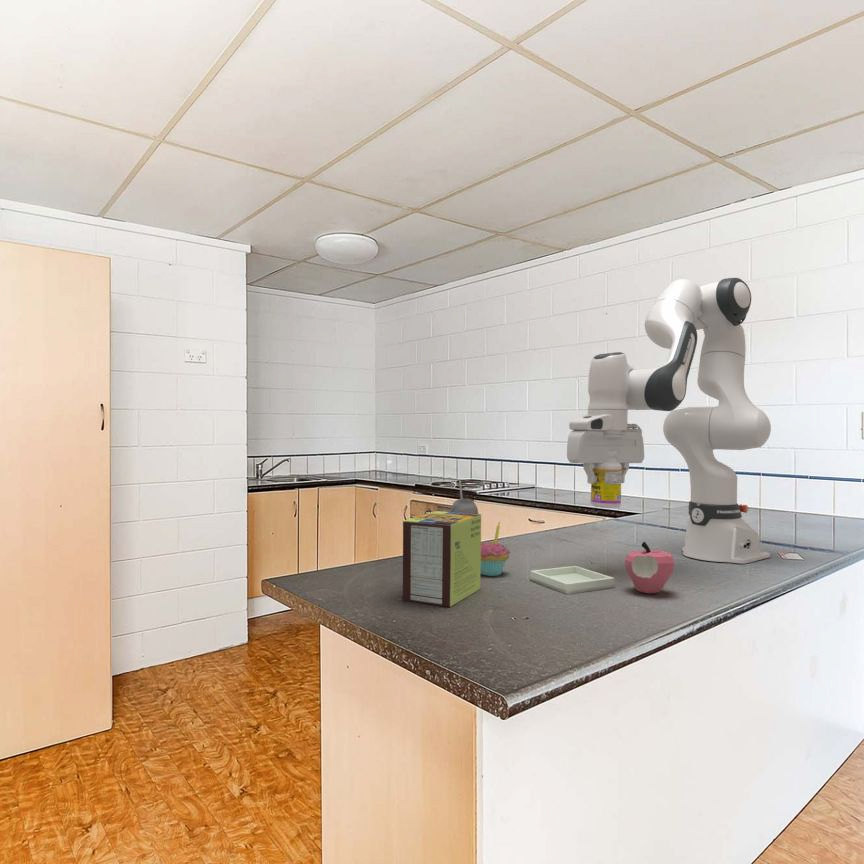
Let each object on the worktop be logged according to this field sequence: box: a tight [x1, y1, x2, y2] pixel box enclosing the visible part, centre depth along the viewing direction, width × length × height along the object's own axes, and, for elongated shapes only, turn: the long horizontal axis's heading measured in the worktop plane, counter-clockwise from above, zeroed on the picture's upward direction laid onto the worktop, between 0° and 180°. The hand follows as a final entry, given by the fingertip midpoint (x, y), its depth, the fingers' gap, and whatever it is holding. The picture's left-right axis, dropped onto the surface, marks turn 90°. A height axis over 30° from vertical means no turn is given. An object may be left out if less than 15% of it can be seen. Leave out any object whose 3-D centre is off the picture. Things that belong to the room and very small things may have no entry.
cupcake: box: [480, 521, 511, 577], centre depth 144 cm, size 9×8×12 cm
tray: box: [529, 565, 616, 595], centre depth 135 cm, size 13×13×2 cm
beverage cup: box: [449, 479, 479, 514], centre depth 157 cm, size 7×7×20 cm
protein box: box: [402, 510, 482, 608], centre depth 126 cm, size 10×15×16 cm
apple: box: [624, 541, 675, 595], centre depth 129 cm, size 10×9×10 cm
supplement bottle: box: [590, 451, 622, 509], centre depth 145 cm, size 7×7×13 cm
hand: (606, 483), depth 145 cm, fingers closed on supplement bottle, 7 cm apart
